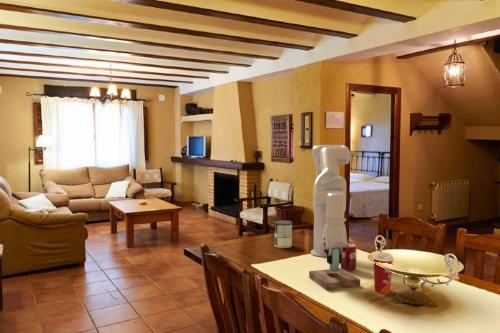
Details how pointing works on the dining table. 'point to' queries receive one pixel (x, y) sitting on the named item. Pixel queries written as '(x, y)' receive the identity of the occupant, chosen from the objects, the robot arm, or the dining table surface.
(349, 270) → the soda can
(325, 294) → the dining table surface
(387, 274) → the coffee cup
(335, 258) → the peg
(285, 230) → the coffee can
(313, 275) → the socket board
